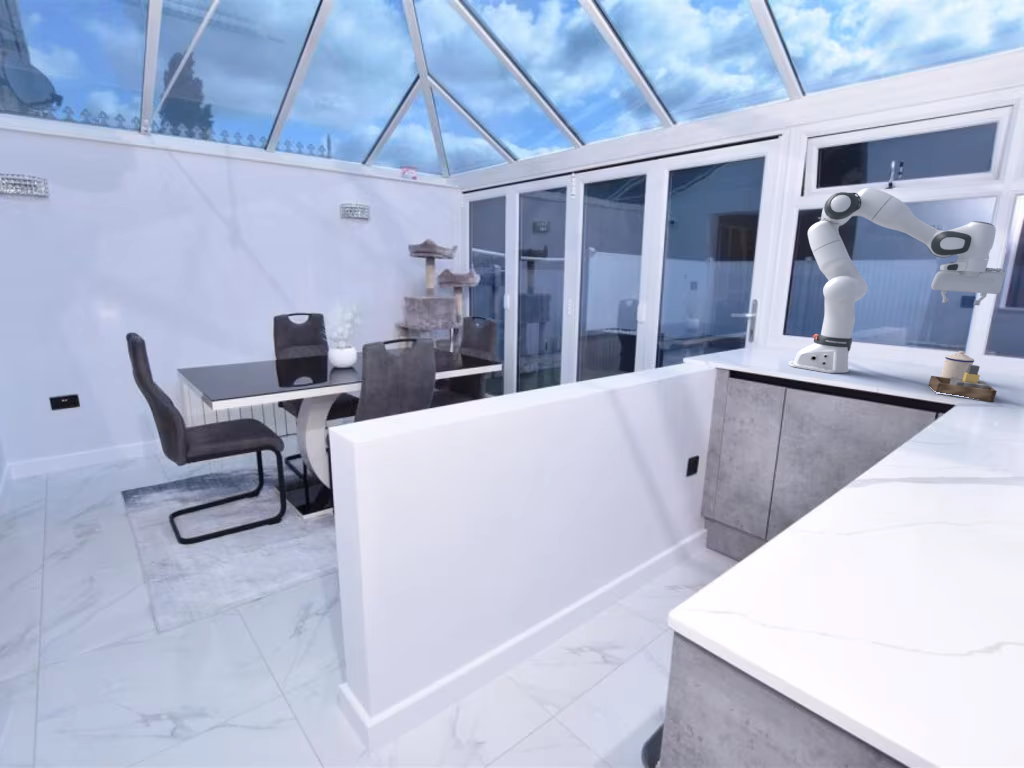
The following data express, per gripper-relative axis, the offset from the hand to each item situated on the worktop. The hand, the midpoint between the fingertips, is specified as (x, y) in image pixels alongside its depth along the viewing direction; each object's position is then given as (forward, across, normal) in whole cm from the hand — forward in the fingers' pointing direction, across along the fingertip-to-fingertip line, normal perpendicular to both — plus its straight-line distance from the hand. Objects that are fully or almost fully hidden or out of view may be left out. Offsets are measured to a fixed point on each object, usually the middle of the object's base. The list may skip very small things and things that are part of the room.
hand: (960, 304), depth 196 cm
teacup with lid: (+31, -7, -12) cm, 34 cm away
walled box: (+31, -3, +18) cm, 36 cm away
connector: (+30, -5, +18) cm, 35 cm away
